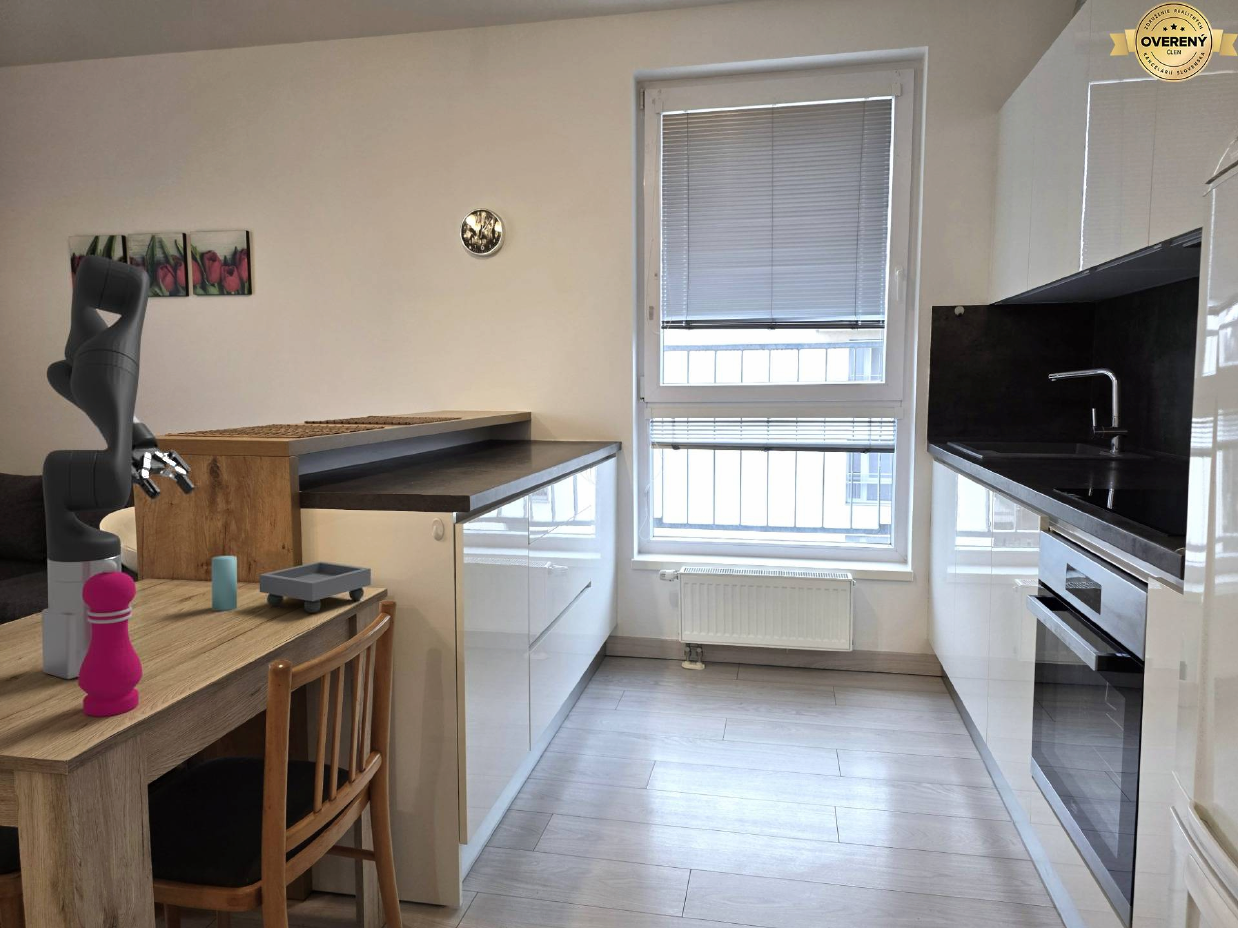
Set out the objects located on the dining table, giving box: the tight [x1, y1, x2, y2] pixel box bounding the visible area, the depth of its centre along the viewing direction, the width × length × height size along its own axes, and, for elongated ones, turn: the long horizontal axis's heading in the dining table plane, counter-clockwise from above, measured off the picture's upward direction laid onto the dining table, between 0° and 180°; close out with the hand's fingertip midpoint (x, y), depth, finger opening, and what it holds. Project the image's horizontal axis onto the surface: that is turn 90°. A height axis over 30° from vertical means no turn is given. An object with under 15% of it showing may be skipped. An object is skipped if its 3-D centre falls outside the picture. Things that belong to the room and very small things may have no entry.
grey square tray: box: [259, 560, 372, 614], centre depth 163 cm, size 16×14×6 cm
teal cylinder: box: [211, 555, 238, 612], centre depth 156 cm, size 4×4×10 cm
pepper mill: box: [77, 560, 143, 717], centre depth 106 cm, size 7×7×20 cm
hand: (174, 494), depth 158 cm, fingers open, 8 cm apart
